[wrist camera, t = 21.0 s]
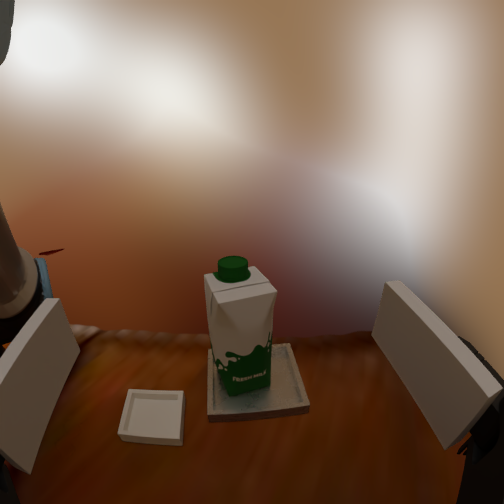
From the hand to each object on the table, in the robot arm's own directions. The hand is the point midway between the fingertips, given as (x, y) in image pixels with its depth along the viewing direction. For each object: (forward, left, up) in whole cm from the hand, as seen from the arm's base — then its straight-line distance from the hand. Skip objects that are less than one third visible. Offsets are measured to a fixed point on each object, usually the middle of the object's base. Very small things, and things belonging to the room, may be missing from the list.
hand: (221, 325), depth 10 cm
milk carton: (-16, +18, -29) cm, 38 cm away
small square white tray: (-19, +2, -30) cm, 35 cm away
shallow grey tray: (-13, +18, -30) cm, 37 cm away
